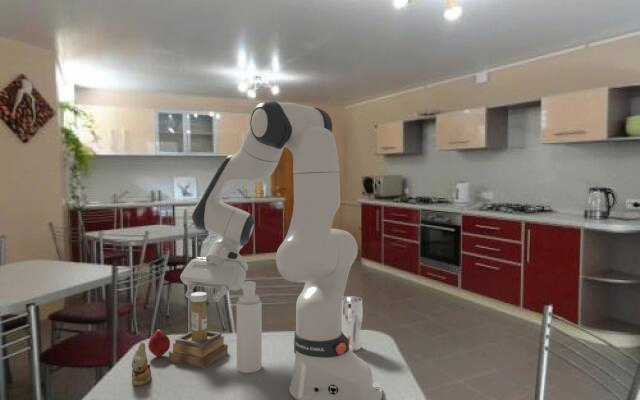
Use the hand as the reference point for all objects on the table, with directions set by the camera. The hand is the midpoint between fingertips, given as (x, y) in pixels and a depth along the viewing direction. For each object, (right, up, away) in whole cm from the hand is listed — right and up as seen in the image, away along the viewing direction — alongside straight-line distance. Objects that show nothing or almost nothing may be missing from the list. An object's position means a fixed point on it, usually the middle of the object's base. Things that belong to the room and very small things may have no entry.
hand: (201, 298), depth 128 cm
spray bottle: (+15, -17, -7) cm, 24 cm away
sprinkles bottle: (-1, -12, -1) cm, 12 cm away
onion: (-12, -17, -1) cm, 21 cm away
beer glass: (+43, -17, +7) cm, 47 cm away
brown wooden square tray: (-1, -17, 0) cm, 17 cm away
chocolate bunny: (-11, -18, -15) cm, 26 cm away
